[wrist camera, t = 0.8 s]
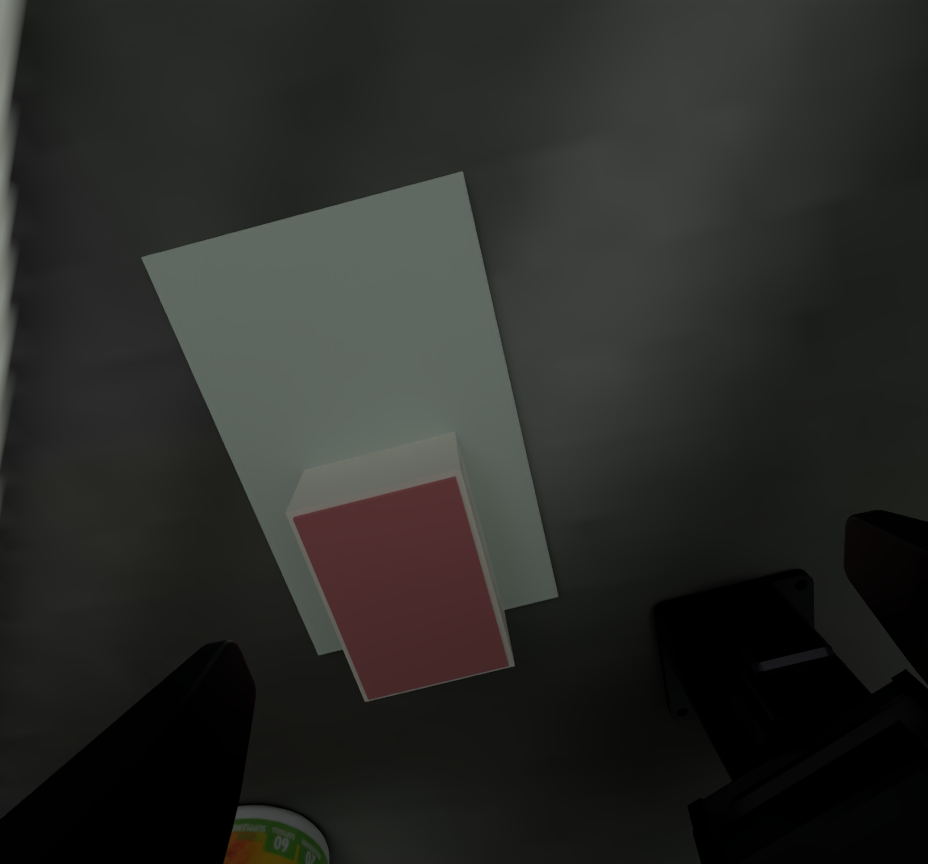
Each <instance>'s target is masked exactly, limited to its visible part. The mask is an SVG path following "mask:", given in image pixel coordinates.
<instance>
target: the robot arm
mask: <svg viewBox="0 0 928 864" xmlns="http://www.w3.org/2000/svg"><path fill="white" fill-rule="evenodd" d="M844 569H845V572H846V575H847V577H848V579H849V581H850V582H851V584H852V585H853V586H854V588H855V589H856V590H857V592H858V593H859V594H860V596H861V597H862V599H863V600H864V601H865V603H866V604H867V605H868V607H869V608H870V609H871V611H872V612H873V613H874V615H875V616H876V618H877V619H878V620H879V622H880V623H881V624H882V626H883V627H884V628H885V630H886V631H887V633H888V634H889V635H890V637H891V638H892V639H893V641H894V642H895V643H896V645H897V646H898V648H899V649H900V650H901V652H902V653H903V654H904V656H905V657H906V658H907V660H908V661H909V662H910V663H911V665H912V666H913V667H914V669H915V670H916V671H917V672H918V674H919V675H920V676H921V677H922V678H923V680H924V681H925V682H926V683H927V684H928V522H926V521H922V520H918V519H915V518H911V517H907V516H903V515H899V514H895V513H891V512H887V511H883V510H874V511H869V512H864V513H859V514H854V515H852V516H850V517H849V518H848V519H847V521H846V525H845V542H844ZM800 580H801V581H800ZM798 581H800V582H799V583H797V582H798ZM796 583H797V584H796ZM668 612H671V613H670V614H668V615H665V614H666V613H668ZM654 617H655V624H656V631H657V638H658V644H659V651H660V658H661V665H662V671H663V678H664V685H665V692H666V698H667V705H668V709H669V711H670V713H671V715H672V717H673V718H674V719H675V720H686V719H690V718H695V717H698V718H699V720H700V721H701V723H702V725H703V727H704V729H705V731H706V733H707V735H708V737H709V738H710V740H711V742H712V744H713V746H714V748H715V750H716V752H717V753H718V755H719V757H720V759H721V761H722V763H723V765H724V767H725V768H726V770H727V772H728V774H729V776H730V778H731V780H732V782H731V783H729V784H727V785H726V786H724V787H723V788H721V789H719V790H718V791H716V792H715V793H713V794H711V795H710V796H708V797H707V798H705V799H701V798H699V799H698V800H696V801H694V802H693V803H691V804H690V805H688V811H689V814H690V818H691V822H692V825H693V829H694V830H693V835H694V839H695V842H696V846H697V850H698V853H699V857H700V861H701V864H928V689H927V688H926V687H925V686H924V685H923V684H922V683H921V682H919V681H918V680H917V679H916V678H915V677H914V676H913V675H912V674H911V673H909V672H908V671H907V670H906V669H905V670H903V671H902V672H900V673H899V674H897V675H896V676H894V677H892V678H891V679H892V680H893V681H892V682H891V683H889V684H887V685H886V686H884V687H883V688H881V689H879V690H878V691H876V692H875V693H873V694H871V693H870V691H869V690H868V689H867V688H866V687H865V686H864V685H863V684H862V683H861V682H860V680H859V679H858V678H857V677H856V676H855V675H854V674H853V673H852V672H851V670H850V669H849V668H848V667H847V666H846V665H845V664H844V663H843V662H842V661H841V659H840V658H839V657H838V656H837V655H836V654H835V653H834V652H833V650H832V648H831V646H830V645H829V644H828V643H827V642H826V641H825V640H824V639H823V638H822V637H821V635H820V634H819V633H818V632H817V631H816V630H815V629H814V588H813V579H812V578H811V577H810V576H809V575H808V574H807V573H806V572H805V571H804V570H801V569H795V570H791V571H787V572H783V573H778V574H774V575H770V576H766V577H762V578H758V579H754V580H750V581H745V582H741V583H737V584H733V585H729V586H725V587H721V588H717V589H712V590H708V591H704V592H700V593H696V594H692V595H688V596H684V597H679V598H675V599H671V600H667V601H663V602H661V603H659V604H658V605H657V606H656V607H655V609H654ZM255 699H256V688H255V682H254V679H253V677H252V675H251V672H250V670H249V668H248V665H247V663H246V661H245V658H244V656H243V654H242V652H241V649H240V647H239V645H238V644H237V643H236V642H235V641H233V640H224V641H219V642H214V643H209V644H206V645H204V646H203V647H201V648H200V649H199V650H198V651H197V652H195V653H194V654H193V655H192V656H191V657H190V658H188V659H187V660H186V661H185V662H184V663H183V664H181V665H180V666H179V667H178V668H177V669H176V670H174V671H173V672H172V673H171V674H170V675H169V676H167V677H166V678H165V679H164V680H163V681H162V682H160V683H159V684H158V685H157V686H156V687H154V688H153V689H152V690H151V691H150V692H149V693H147V694H146V695H145V696H144V697H143V698H142V699H140V700H139V701H138V702H137V703H136V704H135V705H133V706H132V707H131V708H130V709H129V710H128V711H126V712H125V713H124V714H123V715H122V716H120V717H119V718H118V719H117V720H116V721H115V722H113V723H112V724H111V725H110V726H109V727H108V728H106V729H105V730H104V731H103V732H102V733H101V734H99V735H98V736H97V737H96V738H95V739H94V740H92V741H91V742H90V743H89V744H88V745H87V746H85V747H84V748H83V749H82V750H81V751H79V752H78V753H77V754H76V755H75V756H74V757H72V758H71V759H70V760H69V761H68V762H67V763H65V764H64V765H63V766H62V767H61V768H60V769H58V770H57V771H56V772H55V773H54V774H53V775H51V776H50V777H49V778H48V779H47V780H45V781H44V782H43V783H42V784H41V785H40V786H38V787H37V788H36V789H35V790H34V791H33V792H31V793H30V794H29V795H28V796H27V797H26V798H24V799H23V800H22V801H21V802H20V803H19V804H17V805H16V806H15V807H14V808H13V809H12V810H10V811H9V812H8V813H7V814H6V815H4V816H3V817H2V818H1V819H0V864H224V860H225V856H226V852H227V848H228V845H229V841H230V837H231V833H232V829H233V825H234V821H235V817H236V813H237V809H238V805H239V799H240V794H241V788H242V783H243V776H244V770H245V763H246V757H247V751H248V744H249V738H250V731H251V725H252V719H253V712H254V706H255Z"/></svg>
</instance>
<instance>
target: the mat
mask: <svg viewBox="0 0 928 864" xmlns="http://www.w3.org/2000/svg"><path fill="white" fill-rule="evenodd" d="M141 258H142V260H143V262H144V265H145V267H146V269H147V271H148V274H149V276H150V278H151V280H152V283H153V285H154V287H155V289H156V292H157V294H158V296H159V298H160V301H161V303H162V305H163V307H164V310H165V312H166V314H167V316H168V319H169V321H170V323H171V325H172V328H173V330H174V332H175V334H176V337H177V339H178V341H179V343H180V346H181V348H182V350H183V352H184V355H185V357H186V359H187V361H188V364H189V366H190V368H191V370H192V373H193V375H194V377H195V379H196V382H197V384H198V386H199V388H200V390H201V393H202V395H203V397H204V399H205V402H206V404H207V406H208V408H209V411H210V413H211V415H212V417H213V420H214V422H215V424H216V426H217V429H218V431H219V433H220V435H221V438H222V440H223V442H224V444H225V447H226V449H227V451H228V453H229V456H230V458H231V460H232V462H233V465H234V467H235V469H236V471H237V474H238V476H239V478H240V480H241V483H242V485H243V487H244V489H245V492H246V494H247V496H248V498H249V501H250V503H251V505H252V507H253V509H254V512H255V514H256V516H257V518H258V521H259V523H260V525H261V527H262V530H263V532H264V534H265V536H266V539H267V541H268V543H269V545H270V548H271V550H272V552H273V554H274V557H275V559H276V561H277V563H278V566H279V568H280V570H281V572H282V575H283V577H284V579H285V581H286V584H287V586H288V588H289V590H290V593H291V595H292V597H293V599H294V602H295V604H296V606H297V608H298V611H299V613H300V615H301V617H302V620H303V622H304V624H305V626H306V629H307V631H308V633H309V635H310V637H311V640H312V642H313V644H314V646H315V649H316V651H317V653H318V655H322V654H326V653H330V652H334V651H338V650H342V646H341V644H340V641H339V639H338V637H337V634H336V632H335V630H334V627H333V625H332V623H331V620H330V618H329V615H328V613H327V611H326V608H325V606H324V604H323V601H322V599H321V596H320V594H319V592H318V589H317V587H316V585H315V582H314V580H313V577H312V575H311V573H310V570H309V568H308V566H307V563H306V561H305V559H304V556H303V554H302V551H301V549H300V547H299V544H298V542H297V540H296V537H295V535H294V532H293V530H292V528H291V525H290V523H289V521H288V518H287V516H286V513H285V512H286V510H287V508H288V506H289V503H290V501H291V499H292V496H293V494H294V492H295V490H296V487H297V485H298V483H299V481H300V478H301V476H302V474H303V471H304V470H307V469H311V468H315V467H319V466H323V465H326V464H330V463H334V462H338V461H342V460H346V459H350V458H354V457H358V456H362V455H366V454H370V453H374V452H378V451H382V450H386V449H389V448H393V447H397V446H401V445H405V444H409V443H413V442H417V441H421V440H425V439H429V438H433V437H437V436H441V435H445V434H449V433H452V432H455V433H456V437H457V440H458V444H459V447H460V451H461V455H462V458H463V462H464V466H465V469H466V473H467V477H468V480H469V484H470V488H471V491H472V495H473V499H474V502H475V506H476V510H477V513H478V517H479V521H480V524H481V528H482V532H483V535H484V539H485V543H486V546H487V550H488V554H489V557H490V561H491V565H492V568H493V572H494V576H495V579H496V583H497V586H498V590H499V594H500V597H501V601H502V605H503V608H504V610H507V609H511V608H515V607H519V606H523V605H527V604H531V603H535V602H539V601H543V600H548V599H552V598H556V597H558V592H557V588H556V583H555V579H554V575H553V570H552V566H551V561H550V557H549V552H548V548H547V543H546V539H545V535H544V530H543V526H542V521H541V517H540V512H539V508H538V503H537V499H536V495H535V490H534V486H533V481H532V477H531V472H530V468H529V464H528V459H527V455H526V450H525V446H524V441H523V437H522V432H521V428H520V424H519V419H518V415H517V410H516V406H515V401H514V397H513V392H512V388H511V384H510V379H509V375H508V370H507V366H506V361H505V357H504V353H503V348H502V344H501V339H500V335H499V330H498V326H497V321H496V317H495V313H494V308H493V304H492V299H491V295H490V290H489V286H488V282H487V277H486V273H485V268H484V264H483V259H482V255H481V250H480V246H479V242H478V237H477V233H476V228H475V224H474V219H473V215H472V210H471V206H470V202H469V197H468V193H467V188H466V184H465V179H464V175H463V171H462V172H458V173H454V174H451V175H447V176H443V177H440V178H436V179H432V180H428V181H425V182H421V183H417V184H413V185H410V186H406V187H402V188H399V189H395V190H391V191H387V192H384V193H380V194H376V195H372V196H369V197H365V198H361V199H357V200H354V201H350V202H346V203H343V204H339V205H335V206H331V207H328V208H324V209H320V210H316V211H313V212H309V213H305V214H301V215H298V216H294V217H290V218H287V219H283V220H279V221H275V222H272V223H268V224H264V225H260V226H257V227H253V228H249V229H246V230H242V231H238V232H234V233H231V234H227V235H223V236H219V237H216V238H212V239H208V240H204V241H201V242H197V243H193V244H190V245H186V246H182V247H178V248H175V249H171V250H167V251H163V252H160V253H156V254H152V255H148V256H145V257H141Z"/></svg>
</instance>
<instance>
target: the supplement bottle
mask: <svg viewBox="0 0 928 864" xmlns="http://www.w3.org/2000/svg"><path fill="white" fill-rule="evenodd" d="M224 864H329V850H328V846H327V843H326V841H325V839H324V837H323V835H322V834H321V832H320V831H319V830H318V829H317V828H316V827H315V826H314V824H312V823H311V822H310V821H308V820H307V819H306V818H304V817H303V816H301V815H299V814H297V813H295V812H292V811H289V810H286V809H283V808H278V807H273V806H265V805H245V806H238V809H237V813H236V817H235V821H234V825H233V829H232V833H231V837H230V841H229V845H228V848H227V852H226V856H225V860H224Z"/></svg>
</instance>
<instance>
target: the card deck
mask: <svg viewBox="0 0 928 864" xmlns="http://www.w3.org/2000/svg"><path fill="white" fill-rule="evenodd" d="M285 513H286V516H287V518H288V521H289V523H290V525H291V528H292V530H293V532H294V535H295V537H296V540H297V542H298V544H299V547H300V549H301V551H302V554H303V556H304V559H305V561H306V563H307V566H308V568H309V570H310V573H311V575H312V577H313V580H314V582H315V585H316V587H317V589H318V592H319V594H320V596H321V599H322V601H323V604H324V606H325V608H326V611H327V613H328V615H329V618H330V620H331V623H332V625H333V627H334V630H335V632H336V634H337V637H338V639H339V641H340V644H341V646H342V649H343V651H344V653H345V656H346V658H347V660H348V663H349V665H350V668H351V670H352V672H353V675H354V677H355V679H356V682H357V684H358V686H359V689H360V691H361V694H362V696H363V698H364V701H365V702H367V701H371V700H375V699H380V698H384V697H388V696H392V695H396V694H400V693H404V692H409V691H413V690H417V689H421V688H425V687H429V686H434V685H438V684H442V683H446V682H450V681H454V680H458V679H463V678H467V677H471V676H475V675H479V674H483V673H488V672H492V671H496V670H500V669H504V668H508V667H513V666H515V664H514V659H513V653H512V648H511V643H510V638H509V633H508V628H507V623H506V618H505V613H504V608H503V605H502V601H501V597H500V594H499V590H498V586H497V583H496V579H495V576H494V572H493V568H492V565H491V561H490V557H489V554H488V550H487V546H486V543H485V539H484V535H483V532H482V528H481V524H480V521H479V517H478V513H477V510H476V506H475V502H474V499H473V495H472V491H471V488H470V484H469V480H468V477H467V473H466V469H465V466H464V462H463V458H462V455H461V451H460V447H459V444H458V440H457V437H456V433H455V432H452V433H449V434H445V435H441V436H437V437H433V438H429V439H425V440H421V441H417V442H413V443H409V444H405V445H401V446H397V447H393V448H389V449H386V450H382V451H378V452H374V453H370V454H366V455H362V456H358V457H354V458H350V459H346V460H342V461H338V462H334V463H330V464H326V465H323V466H319V467H315V468H311V469H307V470H304V471H303V474H302V476H301V478H300V481H299V483H298V485H297V487H296V490H295V492H294V494H293V496H292V499H291V501H290V503H289V506H288V508H287V510H286V512H285Z"/></svg>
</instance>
